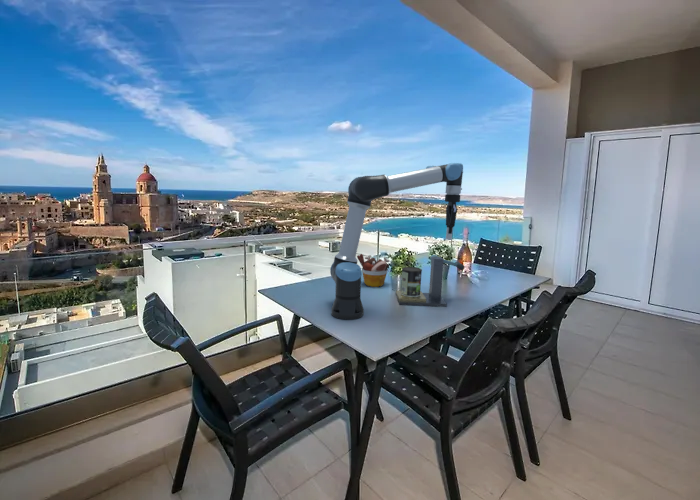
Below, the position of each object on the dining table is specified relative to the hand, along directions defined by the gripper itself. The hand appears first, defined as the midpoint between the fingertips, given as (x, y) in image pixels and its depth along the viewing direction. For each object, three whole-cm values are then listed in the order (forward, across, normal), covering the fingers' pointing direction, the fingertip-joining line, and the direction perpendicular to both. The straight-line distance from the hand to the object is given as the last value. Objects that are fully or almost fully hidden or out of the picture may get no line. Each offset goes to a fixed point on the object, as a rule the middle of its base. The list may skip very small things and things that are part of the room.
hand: (448, 239), depth 169 cm
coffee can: (+31, -1, +18) cm, 36 cm away
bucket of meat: (+34, +27, +37) cm, 57 cm away
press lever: (+15, +4, -1) cm, 15 cm away
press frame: (+33, -2, +13) cm, 36 cm away
